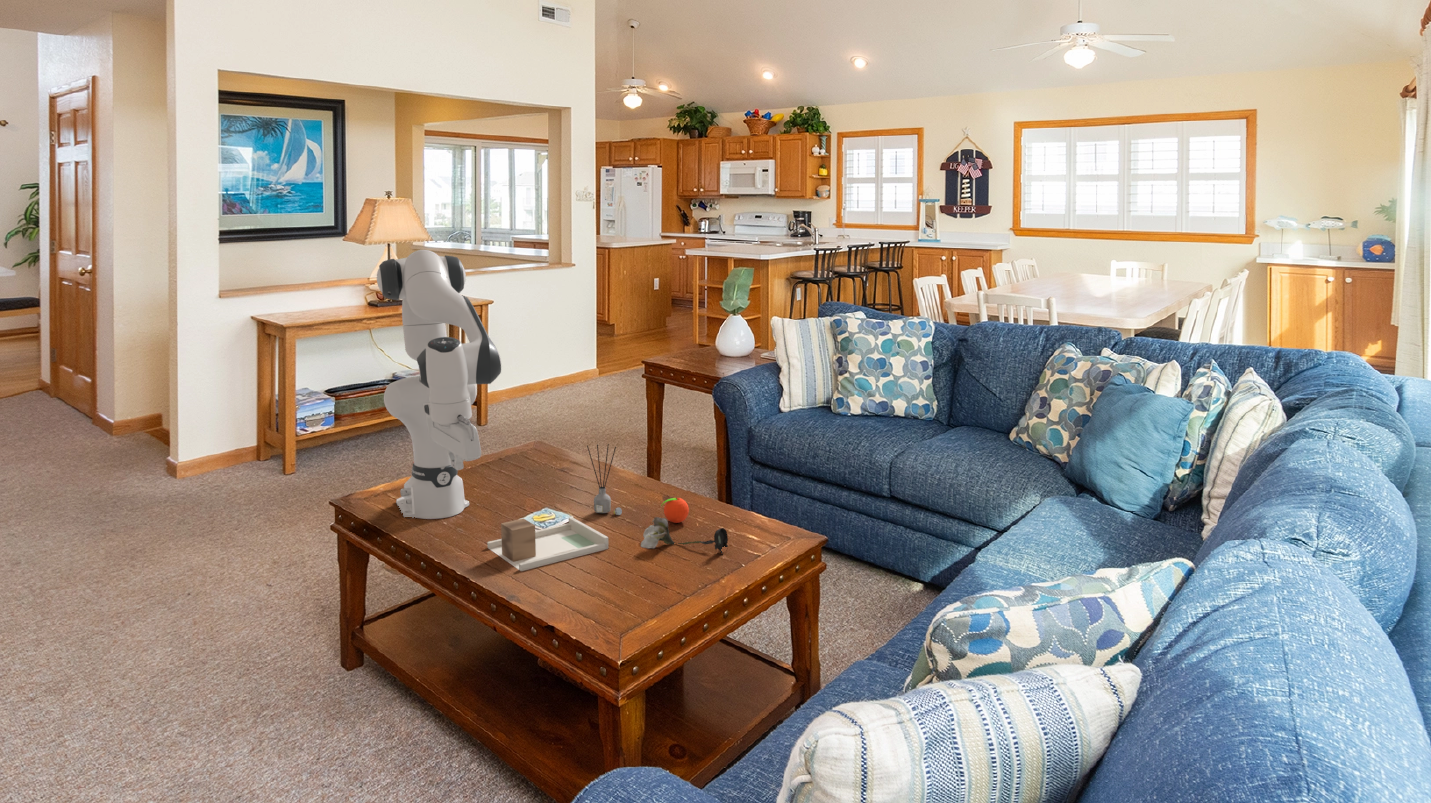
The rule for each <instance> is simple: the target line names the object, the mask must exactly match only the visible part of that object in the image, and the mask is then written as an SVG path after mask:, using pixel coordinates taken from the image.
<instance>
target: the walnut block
mask: <svg viewBox="0 0 1431 803" xmlns="http://www.w3.org/2000/svg"><path fill="white" fill-rule="evenodd" d="M535 531H536V525H535V524H533V523H532V522H530V521H529V520H527V519H525V518H524V517H523V518H518V519H514V520H510V521H505V522H501V523H500V532H501V539H502V555H504V556H505V557H507V558H508V559H510V560H511V561H513V562H515V561H519V560H523V559H527V558H531V557H535V556H536V543H535Z"/></svg>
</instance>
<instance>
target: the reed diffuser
mask: <svg viewBox="0 0 1431 803" xmlns="http://www.w3.org/2000/svg"><path fill="white" fill-rule="evenodd" d="M609 445H610V444H609V443H607V446H606V447H607V449H606V457H605V467H604V474H603V482H602V476H601V475H602V473H601V465H600V464H601V463H600V453H599V444H598V443H596V449H597V461H598V470H599V471H598V472H599V479H598V476H597V472H596V468H595V466H594V465H595V464H594V462H593V458H592V455H591V452H590V449H589V445H586V447H587V451H588V453H589V457H590V461H591V465H592V467H593V470H594V473H595V478H596V481H597V483H598V493H597V495H595V496H594V498H593V508H594V509H593V510H594V512H595V513H597V514H607V513H610V512H611V510H612V509H611V508H612V507H611V506H612V505H611V502H612V498H611V496H610V495H609V494H607V492H606V491H607V490H606V488H607V487H606V486H607V482H608V478H609V474H610V471H611V467H612V463H613V459H614V456H615V452H616V449H617V446H614V450H613V454H612V457H611V459H610V464H609V468H608V472H607V475H606V471H607V461H608V454H609ZM602 483H603V484H602ZM622 512H623V510H622V508H621V507H616V508H614V510H613V514H614V515H616V516H620V515H622V514H623V513H622Z"/></svg>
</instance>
